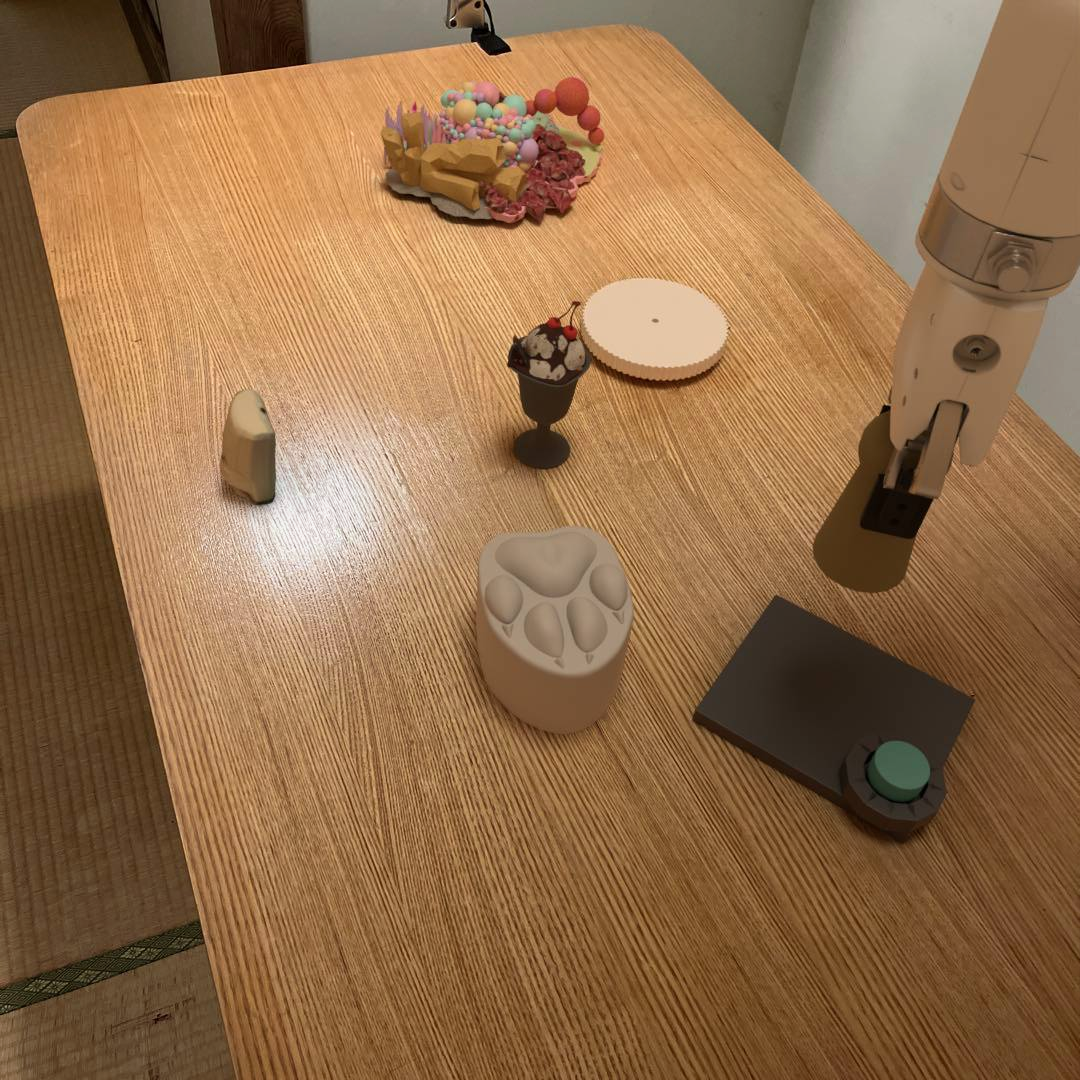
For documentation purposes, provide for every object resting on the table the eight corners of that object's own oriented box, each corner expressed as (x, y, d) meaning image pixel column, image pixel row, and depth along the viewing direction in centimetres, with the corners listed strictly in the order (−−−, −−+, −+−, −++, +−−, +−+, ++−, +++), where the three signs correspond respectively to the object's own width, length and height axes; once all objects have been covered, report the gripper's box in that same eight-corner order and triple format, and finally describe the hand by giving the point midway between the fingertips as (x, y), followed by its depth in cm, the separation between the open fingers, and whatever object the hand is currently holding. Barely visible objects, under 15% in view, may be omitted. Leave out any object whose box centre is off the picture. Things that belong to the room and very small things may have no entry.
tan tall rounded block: (307, 481, 89) (297, 409, 83) (263, 518, 86) (249, 446, 80) (255, 452, 91) (241, 379, 85) (211, 488, 88) (193, 415, 82)
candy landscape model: (555, 248, 114) (561, 168, 107) (350, 199, 118) (344, 119, 111) (616, 140, 130) (625, 64, 123) (435, 100, 134) (434, 25, 127)
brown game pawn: (808, 580, 67) (858, 452, 59) (815, 512, 71) (863, 384, 63) (906, 602, 66) (971, 476, 58) (908, 532, 70) (968, 405, 62)
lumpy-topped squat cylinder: (599, 582, 84) (611, 506, 78) (641, 723, 76) (659, 651, 69) (467, 597, 82) (468, 520, 76) (496, 744, 74) (500, 672, 67)
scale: (978, 714, 78) (994, 691, 76) (909, 860, 70) (925, 839, 68) (771, 605, 84) (780, 580, 81) (686, 728, 76) (693, 704, 73)
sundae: (593, 441, 95) (612, 300, 83) (555, 486, 91) (570, 344, 79) (529, 412, 97) (539, 271, 85) (489, 455, 93) (494, 313, 81)
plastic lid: (750, 340, 106) (755, 319, 104) (669, 409, 98) (673, 388, 96) (635, 281, 111) (638, 260, 109) (550, 342, 103) (552, 321, 102)
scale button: (929, 772, 72) (938, 759, 70) (910, 812, 69) (918, 799, 68) (879, 744, 73) (887, 730, 71) (858, 782, 71) (866, 769, 69)
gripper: (1103, 353, 45) (951, 618, 58) (1072, 156, 56) (950, 417, 69) (921, 317, 46) (813, 586, 59) (926, 130, 57) (834, 392, 70)
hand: (888, 492), depth 64 cm, fingers closed on brown game pawn, 5 cm apart
